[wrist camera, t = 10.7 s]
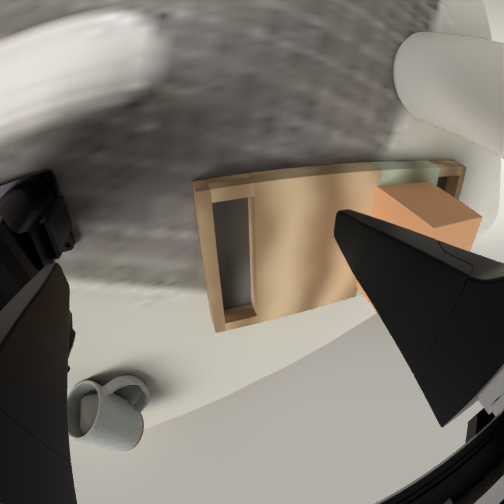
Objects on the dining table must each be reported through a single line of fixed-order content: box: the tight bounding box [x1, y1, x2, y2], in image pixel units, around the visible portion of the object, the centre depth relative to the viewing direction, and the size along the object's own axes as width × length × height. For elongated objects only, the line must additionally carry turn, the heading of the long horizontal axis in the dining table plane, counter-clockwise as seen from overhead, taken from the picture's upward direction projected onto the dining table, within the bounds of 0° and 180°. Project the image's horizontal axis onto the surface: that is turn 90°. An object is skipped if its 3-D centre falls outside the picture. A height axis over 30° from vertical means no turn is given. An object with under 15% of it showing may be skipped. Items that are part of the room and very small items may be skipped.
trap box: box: [192, 160, 466, 333], centre depth 28 cm, size 28×14×2 cm, turn 92°
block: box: [356, 182, 482, 312], centre depth 25 cm, size 7×11×7 cm, turn 2°
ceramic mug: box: [67, 375, 150, 451], centre depth 29 cm, size 11×8×8 cm
